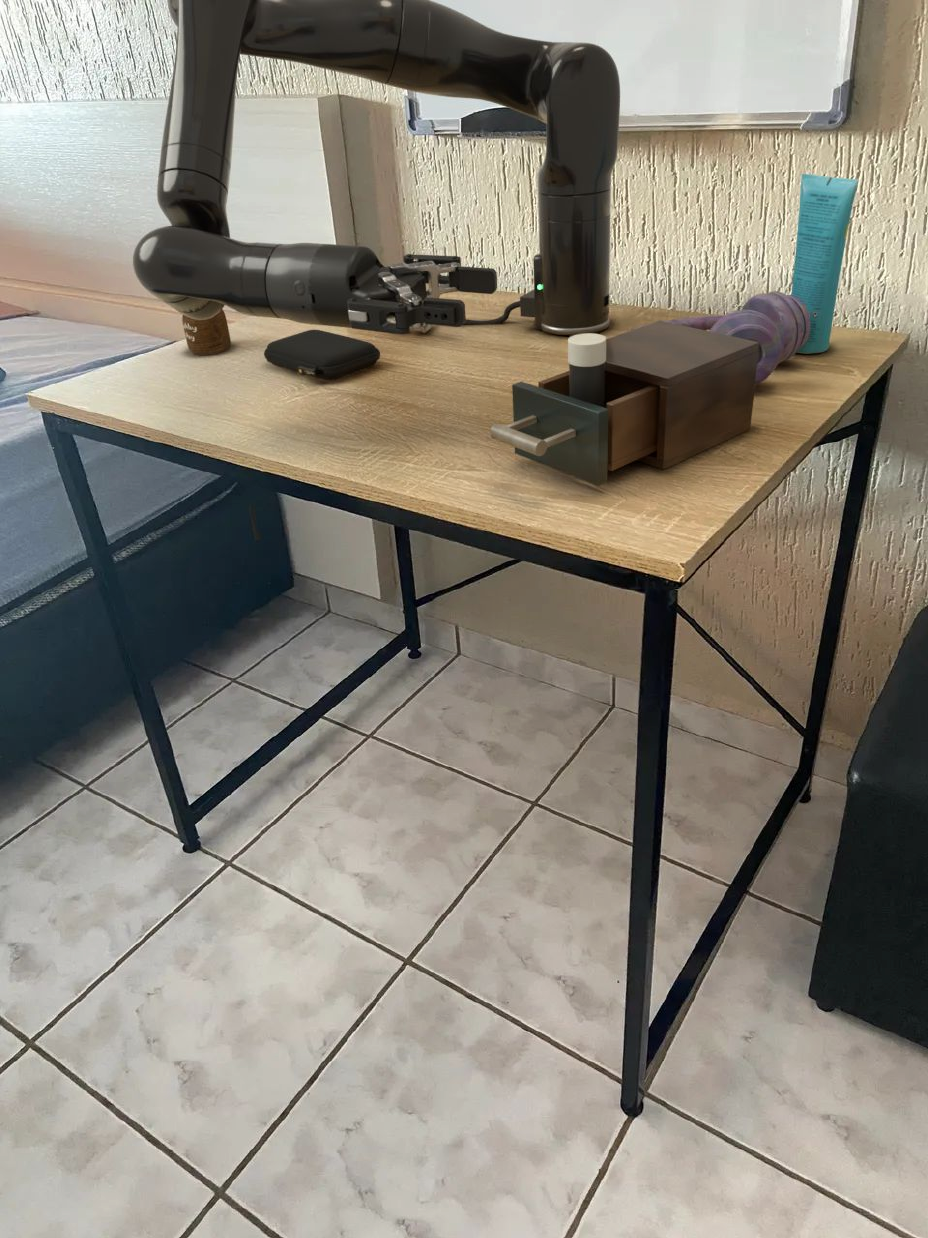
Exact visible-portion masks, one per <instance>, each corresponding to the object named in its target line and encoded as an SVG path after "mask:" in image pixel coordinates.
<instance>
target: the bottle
mask: <svg viewBox="0 0 928 1238" xmlns="http://www.w3.org/2000/svg"><path fill="white" fill-rule="evenodd" d="M606 339H607V337H606V336H605V335H604V334H601V333H600V334H598V333H586V334H578V335H570V336H569V337H568V339H567V363H568V371H569V397H572V398H575V399H578V400H581V401H584V402H588V403H591V404H594V405H597V406H600V407H603V408H604V389H605V361H606Z"/></svg>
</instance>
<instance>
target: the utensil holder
mask: <svg viewBox="0 0 928 1238" xmlns="http://www.w3.org/2000/svg"><path fill="white" fill-rule="evenodd" d="M181 319H182V320H181V321H182V328H183V332H184V337H185V340H186V345H187V348H188V350H189V352H190V353H191V354H193V355H197V356H209V355H210V356H211V355H215V354H220V353H223V352H225V351H227V350H229V349H230V348H231V345H232V341H231V340H232V339H231V334H230V330H229V325H228V320H227V316H226V313H225V310H224V309H222V310H221V311H220V312H219V313H218V314H216V315H215V316H213V317H212V318H209V319H205V320H196V319H192V318H189V317H187V316H185V315H183V314H182V315H181Z"/></svg>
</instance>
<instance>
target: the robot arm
mask: <svg viewBox="0 0 928 1238" xmlns="http://www.w3.org/2000/svg"><path fill="white" fill-rule="evenodd" d="M167 8H168V12H169V15H170V18H171V20H172V22H173V24H174V25H175V26H176V27H177V29H176V32H177V33H176V45H175V54H174V64H173V70H172V75H171V76H172V78H171V84H170V88H169V95H168V101H167V107H166V114H165V120H164V126H163V131H162V132H163V133H162V140H161V147H160V156H159V164H158V165H159V166H158V176H157V185H156V198H157V199H156V200H157V204H158V206H159V208H160V210H161V211H162V213H163V214H164V216H165V217H166V219H167V220H168V221H169V224H170V225H166V226H162V227H157V228H155V229H153V230H150V231H149V232H147V233H146V234H145V235H144V236H142V238H140V240H139V241H138V242H137V244H136V245H135V248H134V250H133V255H132V267H133V271H134V274H135V276H136V278H137V281H138V282H139V283H140V285H141V286H142V287H143V288H144V289H145V290H146V291H147V292H148V293H150V294H152V295H153V296H154V297H156V298H157V299H158V300H160V301H162V302H163V303H165V304H166V305H168V306H170V308H172V309H174V310H175V311H178V313H180V314H182V316H183V315H185V316H187V317H189V318H192V319H196V320H205V319H209V318H212V317H213V316H215V315H216V314H218V313H219V312H220V311H221V310H222V309H223V308H224V307H225V306H226V307H227V308H230V309H232V310H234V311H235V312H237V313H240V314H243V315H247V316H250V317H257V318H258V317H259V318H260V317H262V318H271V319H282V320H288V321H292V322H295V323H300V324H307V325H316V326H327V327H335V328H336V327H338V328H347V329H348V328H349V329H354V330H361V331H368V332H376V333H386V334H395V335H407V334H410V332H411V330H409V327H410V326H411V327H415V328H419V327H422V326H423V325H424V323H425V324H430V325H432V326H443V327H454V328H461V327H462V326H463V325H464V326H484V325H485V326H486V325H487V326H488V325H499V324H503V323H504V322H506V321H507V320H508V319H509V317H510V314H511V312H512V311H513V310H516V309H520V317H524V318H525V317H526V318H534V330H541V331H543V332H545V333H547V334H551V335H552V334H553V335H557V336H558V335H560V336H574V335H578V334H586V333H593V334H596V333H598V332H602V331H603V330H606V329H607V328H608V327H609V326H610V319H611V318H610V305H611V295H610V274H611V273H610V272H611V271H610V270H611V269H610V267H611V203H612V202H611V201H612V199H611V198H612V197H611V196H612V175H613V171H614V169H615V166H616V162H617V158H618V151H619V150H618V149H619V133H620V115H621V114H620V112H621V84H620V82H621V81H620V75H619V70H618V68H617V64H616V62H615V60H614V58H613V57H612V55H611V54H610V53H609V52H608V51H607V50H606V49H605V48H603V47H601V46H599V44H595V43H591V42H575V41H574V42H572V41H571V42H570V41H563V42H562V41H545V40H540V39H533V38H527V37H522V36H516V35H513V34H507V33H503V32H501V31H497V30H495V29H493V28H492V27H491V28H490V27H488V26H486V25H484V24H483V23H480V22H479V21H477V20H475V19H473V18H471V17H470V16H468V15H465V14H464V13H462V12H459V11H458V10H455V9H454V8H451V7H449V6H446V5H444V4H441V3H439V2H436V1H433V0H167ZM241 55H243V56H249V57H257V58H265V59H272V60H273V59H274V60H281V61H287V62H292V63H293V62H294V63H297V64H301V65H307V66H311V67H315V68H320V69H322V70H323V69H324V70H328V71H331V72H336V73H340V74H345V75H349V76H353V77H357V78H362V79H365V80H369V81H372V82H375V83H378V84H382V85H385V86H390V87H394V88H398V89H402V90H405V91H409V92H414V93H418V94H424V95H425V94H426V95H432V96H437V97H445V98H446V97H447V98H455V99H456V98H457V99H458V98H459V99H473V100H480V101H485V102H490V103H492V104H495V105H499V106H502V107H504V108H508V109H511V110H513V111H516V112H518V113H521V114H524V115H526V116H529V117H531V118H534V119H536V120H539V121H540V122H542V123H544V124H546V137H545V138H546V144H545V145H546V147H545V155H544V156H545V157H544V160H543V162H542V164H541V165H540V167H539V168H538V171H537V206H538V208H537V210H538V213H537V214H538V247H539V253H537V254H535V255H534V256H533V260H532V262H533V265H532V266H533V289H532V290H530V291H528V292H526V293H525V294H523V295H521V296H520V297H519V301H514V302H512V303H510V304H508V306H506V307H505V309H504V312H503V314H502V315H501V316H499V317H497V318H493V319H489V320H476V319H467V317H466V304H465V302H464V301H463V300H462V299H453V298H441V295H444V294H449V293H458V292H459V293H471V294H483V295H484V294H485V295H493V294H494V293H495V292H496V291H497V290H498V273H497V270H496V269H494V268H489V267H478V266H477V267H476V266H475V267H474V266H462V258H461V256H458V255H435V254H433V255H432V254H414V253H406V254H405V255H403V257H402V259H403V260H402V261H400V262H394V263H391V264H389V265H388V266H384V265H383V264H382V263H381V261H380V260H379V258H378V256H377V254H376V253H375V251H374V250H372V249H371V248H370V247H367V246H365V245H364V246H363V245H350V244H348V245H347V244H334V243H333V244H332V243H319V242H317V243H316V242H295V243H273V242H272V243H271V242H248V241H247V242H246V241H241V240H238V239H234V238H232V237H231V232H230V225H229V220H228V214H227V204H228V196H229V188H230V187H229V186H230V180H231V179H230V177H231V167H232V156H233V142H234V138H233V137H234V124H235V111H236V109H235V107H236V96H237V95H236V94H237V93H236V92H237V81H238V72H239V63H240V57H241ZM446 273H448V275H442V274H446ZM427 284H428V289H427ZM223 310H224V309H223ZM387 319H391V320H393V321H395V322H396V323H391V322H390V323H389V322H388V321H387ZM248 510H249V514H250V519H251V523H252V524H251V525H252V529H253V534H254V539H255V541H260V539H261V538H260V532H259V527H258V523H257V517H256V513H255V507H254V506H252V505H248Z"/></svg>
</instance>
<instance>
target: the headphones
mask: <svg viewBox="0 0 928 1238" xmlns="http://www.w3.org/2000/svg"><path fill="white" fill-rule="evenodd" d="M663 321H664V322H669V323H673V324H678V325H682V326H687V327H692V328H696V329H701V330H705V331H710V332H714V333H719V334H723V335H728V336H732V337H737V338H742V339H746V340H751V341H755V342H759V351H758V360H757V370H756V380H755V386H757V385H759V384H760V383H763V381H765V380H766V379H768V378H769V377H770V376H771V375H772V374H773V373H774V371H775V369H776V368H777V367H778V365H779V364H781V363H783V362H785V361H787V360H789V359H791V358H792V357H794V356H795V355H796V354H797V351H798V349H799V348H801V347H802V346H803V345H804V344H805V343H806V341H807V340H808V337H809V334H810V327H811V323H810V316H809V313H808V310H807V308H806V306H805V305H804V303H803V302H802V301H801V300H800V299H799V298H797V297H795V296H793V295H792V294H786V293H783V292H781V291H777V290H775V291H774V290H773V291H772V290H771V291H769V292H763V293H762V292H761V293H758V294H755V295H753V296H752V297H750V298H749V299H748V300H747V301H746V302H745V303H744V305H743V306H742V307H741V309H739V310H735V311H731V312H729V313H726V314H723V315H705V316H692V317H683V318H675V319H669V320H663ZM652 323H653V322H652ZM652 323H647V324H643V325H640V326H636V327H633V328H631V330H634V329H637V328H640V327H643V326H646V325H649V324H652Z"/></svg>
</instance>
